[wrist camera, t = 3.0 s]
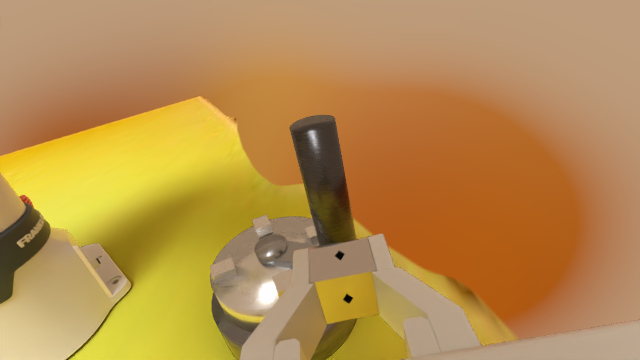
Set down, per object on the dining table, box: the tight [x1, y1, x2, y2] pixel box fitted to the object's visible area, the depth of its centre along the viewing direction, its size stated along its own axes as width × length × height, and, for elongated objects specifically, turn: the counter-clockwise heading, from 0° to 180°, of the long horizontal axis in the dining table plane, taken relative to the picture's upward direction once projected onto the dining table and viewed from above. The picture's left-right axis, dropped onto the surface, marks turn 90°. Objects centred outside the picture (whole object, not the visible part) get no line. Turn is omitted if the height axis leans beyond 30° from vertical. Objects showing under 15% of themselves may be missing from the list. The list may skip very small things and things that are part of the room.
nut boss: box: [212, 293, 356, 360], centre depth 33 cm, size 14×15×5 cm
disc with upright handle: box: [210, 115, 356, 333], centre depth 28 cm, size 14×12×16 cm
